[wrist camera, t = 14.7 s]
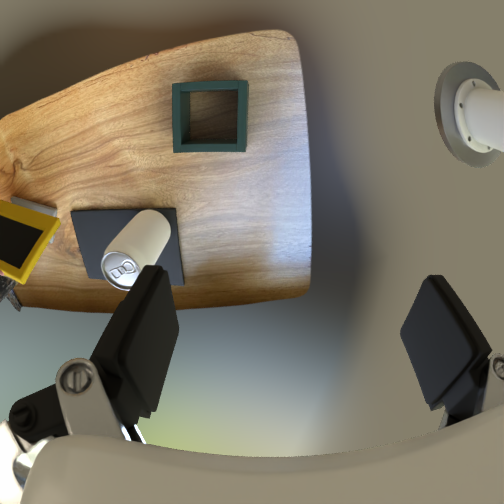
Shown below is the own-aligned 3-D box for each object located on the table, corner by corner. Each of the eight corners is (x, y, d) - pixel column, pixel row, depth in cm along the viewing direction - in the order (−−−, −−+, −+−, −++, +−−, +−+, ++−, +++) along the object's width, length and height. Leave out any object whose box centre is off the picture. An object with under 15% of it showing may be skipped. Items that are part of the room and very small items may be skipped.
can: (179, 235, 40) (155, 283, 30) (148, 251, 42) (120, 299, 32) (156, 200, 38) (122, 239, 27) (126, 220, 39) (89, 260, 29)
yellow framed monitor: (70, 209, 39) (13, 257, 25) (71, 247, 42) (24, 299, 29) (5, 191, 36) (-46, 226, 22) (9, 224, 40) (-36, 262, 26)
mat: (175, 208, 39) (174, 209, 38) (184, 284, 46) (183, 285, 45) (71, 210, 39) (70, 211, 38) (90, 276, 46) (89, 278, 45)
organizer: (248, 84, 30) (247, 80, 25) (247, 146, 34) (245, 152, 30) (183, 86, 30) (172, 83, 25) (183, 146, 34) (173, 152, 30)
